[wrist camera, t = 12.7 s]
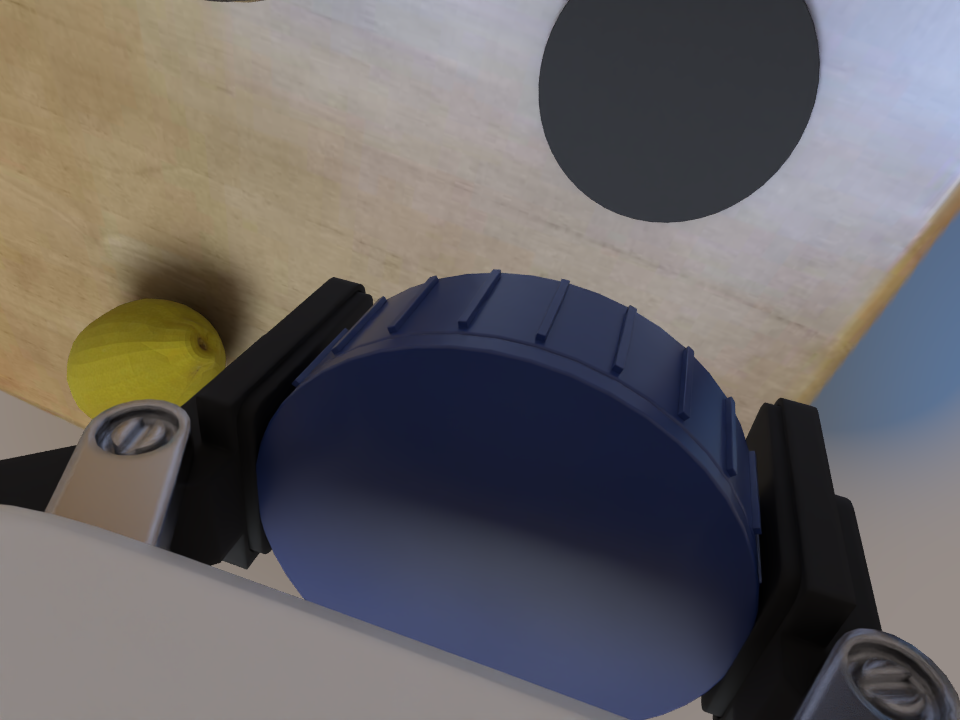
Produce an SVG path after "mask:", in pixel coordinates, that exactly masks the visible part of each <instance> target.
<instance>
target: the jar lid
mask: <svg viewBox="0 0 960 720" xmlns="http://www.w3.org/2000/svg"><path fill="white" fill-rule="evenodd" d="M569 283H570V281H569V280H565V279H562V280H561V281H556V280H552V279H547V278H542V277H537V276H532V275H521V274H509V273H501V270H492V272H491V273H479V274H464V275H458V276H453V277H447V278H441V279H438V278H437V276H433V277H430V278H429V279H428V280H427V281H426V282H425V283H424V284H421V285H418V286H415V287H411V288H409V289H407V290H405V291H403V292H401V293H399V294H397V295H395V296H393V297H391V298H389V299H387V300H386V298H385V297H384V296H383V297H381V298H380V299H378V300H377V301H376V302H375V303H374V305H373V306H372V307H371V308H370V309H369V310H368V311H367V312H366V313H365V314H364V315H363V316H362V317H361V318H360V319H359V320H358V321H357V322H356V324H355V325H354V326H353V327H352V328H351V329H350V330H347V329H346V328H344V329H343V330H342V331H341V333H340V334H339V335H338V336H337V337H336V338H335V339H334V340H333V341H332V342H331V343H330V344H329V345H328V346H327V347H326V348H325V349H324V350H323V351H322V352H321V353H320V354H319V355H318V356H317V357H316V359H315V360H314V361H313V362H312V363H311V364H310V365H309V366H308V367H307V368H306V369H305V370H304V371H303V372H302V373H301V374H300V375H299V376H298V377H297V378H296V379H295V380H294V382H293V383H292V385H293V386H295V387H296V389H295V390H294V391H293V392H292V393H291V394H290V395H289V396H288V397H287V398H286V399H285V400H284V401H283V402H282V404H281V405H280V407H279V408H278V410H277V411H276V413H275V414H274V416H273V417H272V419H271V420H270V422H269V424H268V426H267V429H266V431H265V433H264V436H263V438H262V441H261V443H260V448H259V453H258V458H257V462H256V472H257V486H258V498H259V510H260V517H261V521H262V525H263V528H264V532H265V534H266V536H267V539H268V541H269V543H270V546H271V548H272V550H273V552H274V555H275V556H276V558H277V560H278V561H279V563H280V565H281V567H282V568H283V570H284V572H285V574H286V575H287V577H288V578H289V579H290V581H291V582H292V584H293V585H294V586H295V588H296V589H297V590H298V592H299V593H300V595H301V596H302V597H303V598H304V599H305V600H306V601H309V602H312V603H315V604H318V605H320V606H323V607H326V608H329V609H331V610H334V611H337V612H340V613H342V614H345V615H348V616H351V617H353V618H356V619H359V620H361V621H364V622H367V623H370V624H372V625H375V626H378V627H381V628H383V629H386V630H389V631H392V632H394V633H397V634H400V635H403V636H405V637H408V638H411V639H413V640H416V641H419V642H422V643H424V644H427V645H430V646H433V647H435V648H438V649H441V650H443V651H446V652H449V653H452V654H454V655H457V656H460V657H463V658H465V659H468V660H471V661H473V662H476V663H479V664H482V665H484V666H487V667H490V668H492V669H495V670H498V671H501V672H503V673H506V674H509V675H512V676H514V677H517V678H520V679H522V680H525V681H528V682H530V683H533V684H536V685H538V686H541V687H544V688H546V689H549V690H552V691H555V692H557V693H560V694H563V695H565V696H568V697H571V698H573V699H576V700H579V701H581V702H584V703H587V704H589V705H592V706H595V707H598V708H600V709H603V710H606V711H608V712H611V713H614V714H616V715H619V716H622V717H624V718H627V719H630V720H646V719H649V718H653V717H657V716H660V715H664V714H666V713H668V712H671V711H673V710H675V709H678V708H680V707H682V706H685V705H687V704H688V703H690V702H692V701H693V700H695V699H697V698H698V697H700V696H702V695H703V694H705V693H707V692H708V691H709V690H710V689H711V688H713V687H714V686H715V685H716V684H717V683H718V682H720V681H721V680H722V679H723V678H724V676H725V675H726V673H727V672H728V670H729V668H730V667H731V665H732V663H733V662H734V660H735V658H736V657H737V655H738V653H739V652H740V650H741V648H742V647H743V645H744V643H745V642H746V640H747V638H748V637H749V635H750V633H751V631H752V629H753V627H754V624H755V621H756V617H757V613H758V603H759V587H760V585H761V584H762V577H761V560H760V543H759V534H762V531H761V517H760V503H759V488H758V474H757V460H756V453H755V451H749V449H748V446H747V443H746V440H745V437H744V433H743V430H742V427H741V424H740V422H739V420H738V418H737V416H736V414H735V402H734V400H733V398H732V397H729V398H727V397H726V396H725V394H724V393H723V392H722V390H721V389H720V387H719V386H718V385H717V383H716V382H715V380H714V379H713V378H712V376H711V375H710V373H709V372H708V371H707V370H706V369H705V368H704V367H703V366H702V365H701V364H700V363H699V362H698V361H697V359H696V358H695V357H694V351H693V350H692V349H691V348H690V347H689V346H688V347H687V348H685V347H684V346H682V345H681V344H680V343H679V342H678V341H676V340H675V339H674V338H673V337H671V336H670V335H669V334H668V333H667V332H665V331H664V330H663V329H662V328H660V327H659V326H657V325H656V324H654V323H653V322H651V321H649V320H648V319H646V318H645V317H643V316H642V315H640V314H638V313H637V309H636V308H634V307H633V306H631V305H630V306H629V307H626V306H624V305H622V304H620V303H618V302H616V301H613V300H611V299H609V298H607V297H605V296H603V295H601V294H599V293H596V292H593V291H590V290H587V289H584V288H581V287H578V286H575V285H572V284H569Z"/></svg>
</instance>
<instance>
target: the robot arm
mask: <svg viewBox="0 0 960 720" xmlns="http://www.w3.org/2000/svg"><path fill="white" fill-rule="evenodd" d="M372 306H373V299H372V296H371V295H369V294H365V288H364V286H363V285H362V284H358V283H354V282H350V281H347V280H343V279H339V278H335V277H332V278H331V279H329V280H328V281H327V282H326V283H324V284H323V285H322V286H321V287H320V288H319V289H317V290H316V291H315V292H314V293H313V294H312V295H311V296H309V297H308V298H307V299H306V300H305V301H304V302H302V303H301V304H300V305H299V306H298V307H297V308H296V309H294V310H293V311H292V312H291V313H290V314H289V315H287V316H286V317H285V318H284V319H283V320H282V321H280V322H279V323H278V324H277V325H276V326H275V327H274V328H272V329H271V330H270V331H269V332H268V333H267V334H265V335H264V336H262V337H261V338H260V339H259V340H258V341H256V342H255V343H254V344H253V345H252V346H251V347H249V348H248V349H247V350H246V351H245V352H244V353H243V354H241V355H240V356H239V357H238V358H237V359H236V360H234V361H233V362H232V363H231V364H230V365H229V366H227V367H226V368H225V369H224V370H223V371H222V372H220V373H219V374H218V375H217V376H216V377H215V378H214V379H212V380H211V381H210V382H209V383H208V384H207V385H205V386H204V387H203V388H202V389H201V390H200V391H198V392H197V393H196V394H195V395H194V396H193V397H192V398H190V399H189V400H188V401H187V402H186V403H185V404H183V405H182V406H181V407H179V406H178V405H176V404H173V403H170V402H167V401H164V400H154V399H144V400H133V401H130V402H126V403H122V404H118V405H116V406H114V407H111V408H109V409H107V410H105V411H103V412H102V413H100V414H99V415H98V416H96V417H95V418H94V419H92V420H91V422H90V423H89V424H88V426H87V427H86V428H85V430H84V432H83V434H82V436H81V438H80V440H79V442H78V444H77V445H75V446H70V447H65V448H60V449H55V450H50V451H45V452H40V453H35V454H30V455H25V456H20V457H15V458H10V459H5V460H0V720H630V719H627V718H624V717H622V716H619V715H616V714H614V713H611V712H608V711H606V710H603V709H600V708H598V707H595V706H592V705H589V704H587V703H584V702H581V701H579V700H576V699H573V698H571V697H568V696H565V695H563V694H560V693H557V692H555V691H552V690H549V689H546V688H544V687H541V686H538V685H536V684H533V683H530V682H528V681H525V680H522V679H520V678H517V677H514V676H512V675H509V674H506V673H503V672H501V671H498V670H495V669H492V668H490V667H487V666H484V665H482V664H479V663H476V662H473V661H471V660H468V659H465V658H463V657H460V656H457V655H454V654H452V653H449V652H446V651H443V650H441V649H438V648H435V647H433V646H430V645H427V644H424V643H422V642H419V641H416V640H413V639H411V638H408V637H405V636H403V635H400V634H397V633H394V632H392V631H389V630H386V629H383V628H381V627H378V626H375V625H372V624H370V623H367V622H364V621H361V620H359V619H356V618H353V617H351V616H348V615H345V614H342V613H340V612H337V611H334V610H331V609H329V608H326V607H323V606H320V605H318V604H315V603H312V602H309V601H306V600H303V599H301V598H298V597H295V596H293V595H290V594H287V593H284V592H281V591H278V590H276V589H273V588H270V587H268V586H265V585H262V584H259V583H256V582H254V581H251V580H248V579H245V578H243V577H240V576H237V575H234V574H232V573H229V572H226V571H223V570H220V569H218V568H215V567H212V566H211V565H214V564H217V563H220V562H221V561H225V562H228V563H230V564H233V565H237V566H239V567H242V568H244V569H248V567H249V566H250V565H251V564H252V562H253V561H254V559H255V558H256V557H257V555H258V554H259V553H263V554H267V553H269V552H270V551H271V550H272V548H271V546H270V543H269V541H268V539H267V536H266V534H265V532H264V528H263V525H262V521H261V517H260V510H259V498H258V486H257V472H256V462H257V458H258V453H259V448H260V443H261V441H262V438H263V436H264V433H265V431H266V429H267V426H268V424H269V422H270V420H271V419H272V417H273V416H274V414H275V413H276V411H277V410H278V408H279V407H280V405H281V404H282V402H283V401H284V400H285V399H286V398H287V397H288V396H289V395H290V394H291V393H292V392H293V391H294V390H295V389H296V387H295V386H293V385H292V383H293V382H294V380H295V379H296V378H297V377H298V376H299V375H300V374H301V373H302V372H303V371H304V370H305V369H306V368H307V367H308V366H309V365H310V364H311V363H312V362H313V361H314V360H315V359H316V357H317V356H318V355H319V354H320V353H321V352H322V351H323V350H324V349H325V348H326V347H327V346H328V345H329V344H330V343H331V342H332V341H333V340H334V339H335V338H336V337H337V336H338V335H339V334H340V333H341V331H342V330H343V329H344V328H346V329H347V330H350V329H351V328H352V327H353V326H354V325H355V324H356V322H357V321H358V320H359V319H360V318H361V317H362V316H363V315H364V314H365V313H366V312H367V311H368V310H369V309H370V308H371V307H372ZM746 443H747V446H748V449H749V451H755V453H756V460H757V474H758V488H759V503H760V517H761V531H762V534H759V543H760V560H761V577H762V584H761V585H760V587H759V603H758V613H757V617H756V621H755V624H754V627H753V629H752V631H751V633H750V635H749V637H748V638H747V640H746V642H745V643H744V645H743V647H742V648H741V650H740V652H739V653H738V655H737V657H736V658H735V660H734V662H733V663H732V665H731V667H730V668H729V670H728V672H727V673H726V675H725V676H724V678H723V679H722V680H721V681H720V682H718V683H717V684H716V685H715V686H714V687H713V688H711V689H710V690H709V691H708V692H707V693H705V694H703V695H702V696H701V703H702V709H703V711H705V712H708V713H710V714H713V720H960V700H959V697H958V694H957V692H956V691H955V689H954V688H953V686H952V684H951V683H950V681H949V680H948V678H947V676H946V675H945V674H944V673H943V672H942V671H941V670H940V669H939V667H938V666H937V665H936V664H935V663H934V662H933V661H932V660H931V659H930V658H929V657H927V656H926V655H925V654H924V653H922V652H921V651H920V650H918V649H917V648H916V647H914V646H913V645H912V644H910V643H908V642H906V641H904V640H902V639H900V638H898V637H897V636H895V635H892V634H889V633H886V632H883V631H882V629H881V625H880V620H879V616H878V612H877V607H876V603H875V599H874V594H873V590H872V586H871V581H870V577H869V572H868V568H867V564H866V559H865V555H864V550H863V546H862V542H861V537H860V533H859V529H858V524H857V520H856V516H855V512H854V508H853V505H852V503H851V501H850V500H849V499H847V498H845V497H841V496H838V495H835V494H834V488H833V483H832V479H831V474H830V469H829V464H828V459H827V454H826V449H825V444H824V439H823V434H822V429H821V424H820V419H819V414H818V410H817V408H815V407H813V406H809V405H806V404H802V403H798V402H795V401H791V400H787V399H784V398H779V399H778V400H777V401H776V403H775V404H774V405H773V404H769V403H764V404H763V405H762V406H761V408H760V410H759V412H758V414H757V416H756V419H755V421H754V423H753V425H752V427H751V429H750V431H749V434H748V436H747V438H746Z"/></svg>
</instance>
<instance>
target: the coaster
mask: <svg viewBox="0 0 960 720" xmlns="http://www.w3.org/2000/svg"><path fill="white" fill-rule="evenodd" d="M819 66H820V61H819V48H818V40H817V36H816V32H815V27H814V23H813V20H812V18H811V15H810V13H809V10H808V8H807V5H806V3H805V2H804V0H569V1H568V3H567V4H566V6H565V7H564V9H563V10H562V12H561V13H560V15H559V17H558V19H557V21H556V23H555V25H554V27H553V29H552V31H551V34H550V37H549V39H548V42H547V45H546V47H545V51H544V55H543V59H542V64H541V69H540V78H539V107H540V115H541V121H542V125H543V129H544V133H545V136H546V139H547V141H548V144H549V146H550V149H551V151H552V153H553V155H554V157H555V159H556V160H557V162H558V164H559V166H560V167H561V169H562V170H563V171H564V173H565V174H566V175H567V177H568V178H569V179H570V180H571V181H572V182H573V183H574V184H575V185H576V187H577V188H578V189H579V190H580V191H582V192H583V193H584V194H585V195H587V196H588V197H589V198H590V199H592V200H593V201H595V202H596V203H598V204H600V205H601V206H603V207H604V208H606V209H609V210H611V211H613V212H615V213H618V214H620V215H623V216H626V217H630V218H633V219H637V220H643V221H649V222H664V223H669V222H683V221H688V220H694V219H699V218H702V217H706V216H709V215H712V214H715V213H718V212H720V211H722V210H724V209H727V208H729V207H731V206H733V205H735V204H736V203H738V202H740V201H741V200H743V199H745V198H746V197H748V196H750V195H751V194H752V193H753V192H755V191H756V190H757V189H759V188H760V187H761V186H763V185H764V184H765V183H766V182H767V181H768V180H769V179H770V178H771V177H772V176H773V175H774V174H775V173H776V172H777V171H778V170H779V169H780V167H781V166H782V165H783V164H784V162H785V161H786V160H787V159H788V158H789V156H790V155H791V153H792V151H793V150H794V148H795V147H796V145H797V144H798V142H799V140H800V138H801V136H802V134H803V132H804V130H805V128H806V126H807V124H808V121H809V118H810V115H811V112H812V109H813V106H814V103H815V99H816V93H817V88H818V83H819Z"/></svg>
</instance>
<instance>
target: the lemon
mask: <svg viewBox="0 0 960 720" xmlns="http://www.w3.org/2000/svg"><path fill="white" fill-rule="evenodd" d="M225 363H226V355H225V350H224V346H223V344H222V341H221V339H220V337H219V335H218V333H217V331H216V330H215V328H214V327H213V326H212V325H211V324H210V322H209V321H208V320H207V319H206V318H205V317H203V316H202V315H201V314H200V313H198V312H196V311H195V310H193V309H191V308H190V307H188V306H186V305H184V304H181V303H177V302H174V301H170V300H163V299H146V298H145V299H140V300H136V301H132V302H129V303H125V304H123V305H120V306H118V307H116V308H114V309H112V310H110V311H109V312H107V313H106V314H104V315H102V316H101V317H99V318H98V319H96V320H95V321H93V322H92V323H91V324H89V325H88V326H87V327H86V328H85V329H84V330H83V331H82V332H81V333H80V334H79V335H78V337H77V338H76V340H75V341H74V343H73V345H72V348H71V351H70V355H69V358H68V364H67V381H68V384H69V387H70V390H71V393H72V396H73V398H74V400H75V401H76V403H77V405H78V407H79V408H80V409H81V410H82V411H83V412H84V413H85V414H86V415H87V416H89V417H90V418H92V419H94V418H95V417H96V416H98V415H99V414H100V413H102V412H103V411H105V410H107V409H109V408H111V407H114V406H116V405H118V404H122V403H126V402H130V401H133V400H144V399H154V400H164V401H167V402H170V403H173V404H176V405H178V406H179V407H181V406H182V405H183V404H185V403H186V402H187V401H188V400H189V399H190V398H192V397H193V396H194V395H195V394H196V393H197V392H198V391H200V390H201V389H202V388H203V387H204V386H205V385H207V384H208V383H209V382H210V381H211V380H212V379H214V378H215V377H216V376H217V375H218V374H219V373H220V372H222V371H223V370H224V369H225Z"/></svg>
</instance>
